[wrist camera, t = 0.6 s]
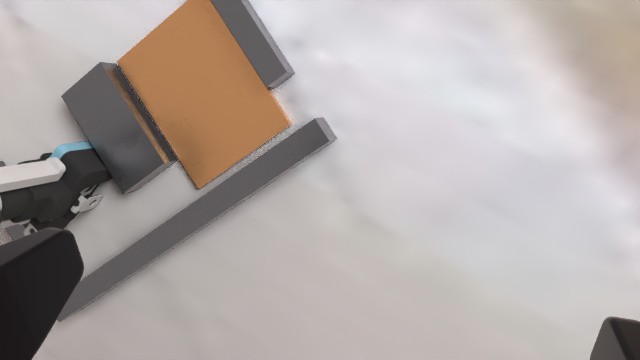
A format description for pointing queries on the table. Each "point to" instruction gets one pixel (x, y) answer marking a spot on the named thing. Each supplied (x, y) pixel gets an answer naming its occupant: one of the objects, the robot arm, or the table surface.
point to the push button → (51, 187)
